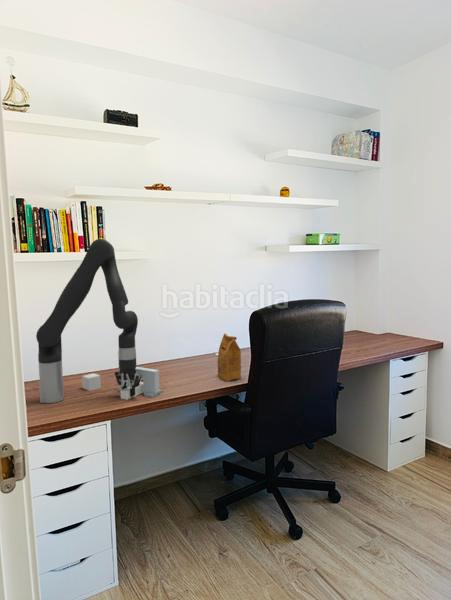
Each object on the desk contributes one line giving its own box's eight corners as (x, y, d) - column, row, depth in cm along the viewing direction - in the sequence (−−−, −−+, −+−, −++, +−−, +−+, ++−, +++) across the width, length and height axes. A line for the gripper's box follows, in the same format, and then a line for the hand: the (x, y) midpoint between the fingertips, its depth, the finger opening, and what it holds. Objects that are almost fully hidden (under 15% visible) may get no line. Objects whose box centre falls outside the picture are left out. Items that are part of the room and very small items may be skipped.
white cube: (82, 388, 197) (82, 375, 196) (94, 385, 201) (93, 373, 201) (89, 391, 193) (88, 378, 192) (100, 388, 197) (100, 375, 197)
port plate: (151, 397, 183) (151, 373, 181) (117, 391, 192) (116, 367, 191) (162, 392, 190) (162, 368, 188) (128, 386, 199) (128, 363, 198)
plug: (127, 399, 180) (127, 389, 180) (120, 398, 182) (119, 388, 182) (155, 387, 197) (155, 378, 196) (147, 386, 199) (147, 377, 198)
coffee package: (232, 373, 219) (232, 331, 217) (243, 379, 208) (243, 336, 205) (214, 376, 215) (214, 333, 212) (225, 382, 203) (224, 337, 201)
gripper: (145, 357, 182) (146, 395, 184) (121, 353, 189) (122, 390, 191) (134, 360, 175) (135, 400, 177) (108, 357, 182) (110, 395, 184)
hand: (128, 395), depth 184 cm, fingers closed on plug, 3 cm apart
